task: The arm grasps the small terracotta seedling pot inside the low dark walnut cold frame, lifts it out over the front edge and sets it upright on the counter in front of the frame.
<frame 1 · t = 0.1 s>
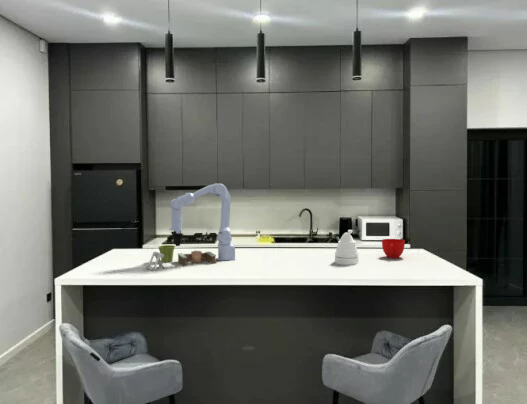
hand: (177, 244, 250), 10 cm above the table, tool pointing down, fingers open, 7 cm apart
portable electronic device stand: (155, 269, 234), on the table
plant pot: (166, 261, 255), on the table
seedling pot: (196, 262, 252), resting in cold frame
honey pot: (346, 262, 250), on the table
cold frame: (197, 262, 251), on the table
ceramic cup: (392, 258, 265), on the table
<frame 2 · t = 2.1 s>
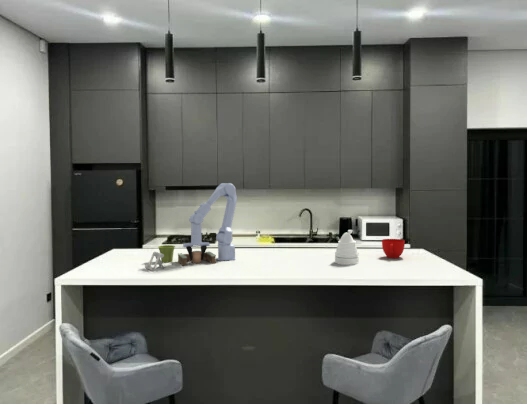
hand: (196, 259, 252), 2 cm above the table, tool pointing down, fingers closed on seedling pot, 6 cm apart
seedling pot: (196, 262, 252), resting in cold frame, touching gripper
everything else where it was.
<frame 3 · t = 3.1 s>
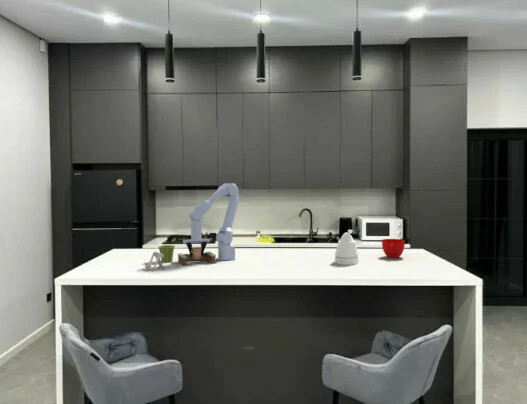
hand: (196, 255, 252), 4 cm above the table, tool pointing down, fingers closed on seedling pot, 6 cm apart
seedling pot: (196, 258, 252), point 2 cm above the table, touching gripper
everything else where it was.
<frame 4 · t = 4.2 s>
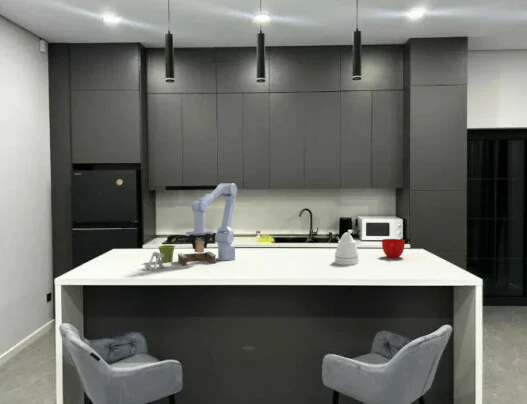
hand: (199, 248, 244), 9 cm above the table, tool pointing down, fingers closed on seedling pot, 6 cm apart
seedling pot: (199, 251, 244), point 7 cm above the table, touching gripper
everything else where it was.
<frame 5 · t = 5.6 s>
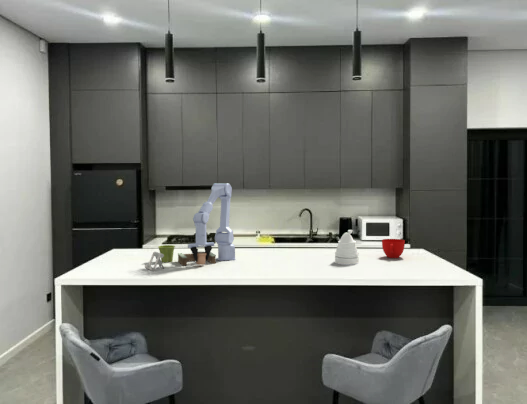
hand: (201, 260, 241), 3 cm above the table, tool pointing down, fingers closed on seedling pot, 6 cm apart
seedling pot: (200, 263, 242), point 1 cm above the table, touching gripper
everything else where it was.
when the fingers open (3 cm above the table, at t = 6.6 s): seedling pot drops 1 cm, on the table.
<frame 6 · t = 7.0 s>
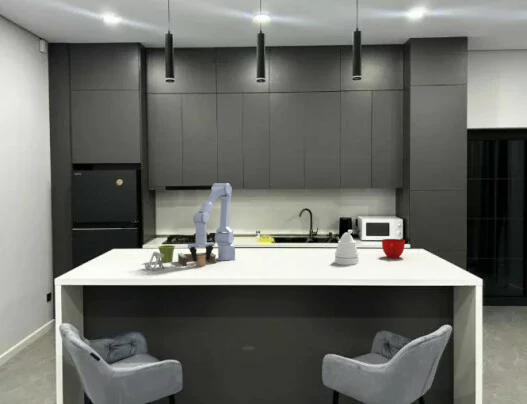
hand: (201, 260, 241), 3 cm above the table, tool pointing down, fingers open, 7 cm apart
seedling pot: (200, 265, 242), on the table
everything else where it was.
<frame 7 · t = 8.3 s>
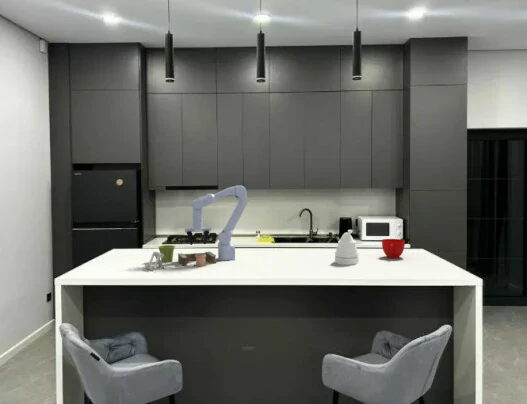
hand: (197, 244, 257), 9 cm above the table, tool pointing down, fingers open, 7 cm apart
nothing on the table moved.
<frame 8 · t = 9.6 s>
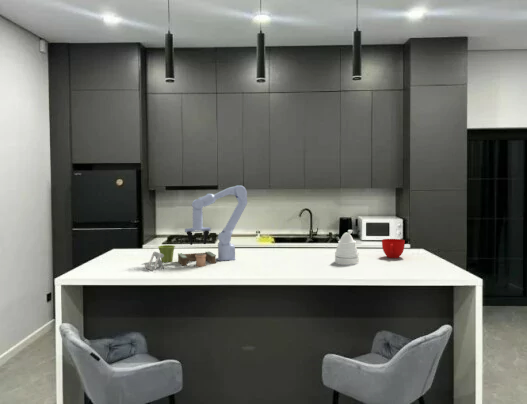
hand: (197, 244, 257), 9 cm above the table, tool pointing down, fingers open, 7 cm apart
nothing on the table moved.
at the end: seedling pot inside the target area on the table beside the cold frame (1.3 cm from its centre), on the table; seedling pot tilted 0°; the gripper is holding nothing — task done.
